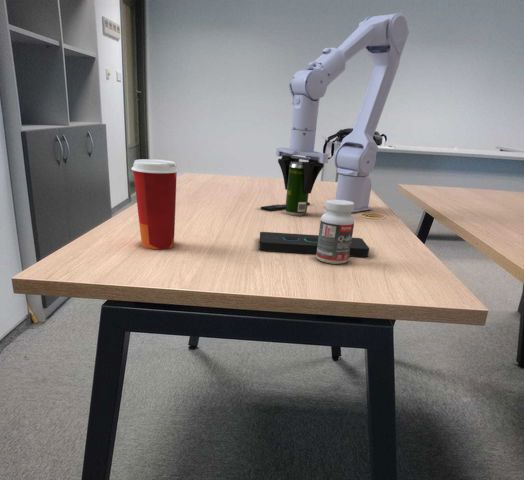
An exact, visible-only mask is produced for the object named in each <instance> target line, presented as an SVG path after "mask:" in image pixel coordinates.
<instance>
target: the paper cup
mask: <svg viewBox="0 0 524 480" xmlns="http://www.w3.org/2000/svg"><path fill="white" fill-rule="evenodd" d="M131 171H133V180H134V190H135V197H136V198H135V199H136V206H137V215H138V224H139V232H140V240H141V246H142V247H143V248H145V249H150V250H166V249H167V250H168V249H171V248H173V247H174V245H175V230H176V229H175V228H176V204H177V202H176V200H177V173H179V169H178V168H177V163H176V161H172V160H167V159H153V158H150V159H149V158H147V159H146V158H145V159H144V158H143V159H141V158H140V159H134V162H133V163H132V167H131Z"/></svg>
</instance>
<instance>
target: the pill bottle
mask: <svg viewBox="0 0 524 480" xmlns="http://www.w3.org/2000/svg"><path fill="white" fill-rule="evenodd" d="M325 210H326V211H325V213H323V214H322V215H321V217H320V221H319V229H318V235H319V238H318V246H317V253H316V254H315V257H316V259H317V260H319V261H320V262H323V263H326V264H331V265H340V264H346V263H347V262H348V261H349V258H350V256H349V254H350V247H351V240H352V238H353V234H354V227H355V218H354V217H353V216H352V213H351V212H352V211H353V210H354V203H353V202H351V201H346V200H335V199H328V200H326V201H325Z"/></svg>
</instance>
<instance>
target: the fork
mask: <svg viewBox="0 0 524 480" xmlns="http://www.w3.org/2000/svg"><path fill="white" fill-rule="evenodd" d="M307 206H310V202H308V204H307ZM285 207H286V203H283V204H279V203H277V204H272V205H271V204H270V205H264V206H260V210H264V211H267V212H273V211H280V210H285Z"/></svg>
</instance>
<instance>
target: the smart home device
mask: <svg viewBox="0 0 524 480" xmlns="http://www.w3.org/2000/svg"><path fill="white" fill-rule="evenodd" d="M318 238H319V234H303V233H289V232H275V231H274V232H273V231H272V232H271V231H259V245H258V246H259V247H258V248H259V249H258V251H262V252H263V251H264V252H275V253H276V252H278V253H292V254H309V255H316V253H317V246H318ZM369 252H370V247H369V246H368V244H367V243H366V241H365V240H364V239H363V238H361V237H352V240H351V247H350V254H349V257H357V258H368V257H369Z"/></svg>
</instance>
